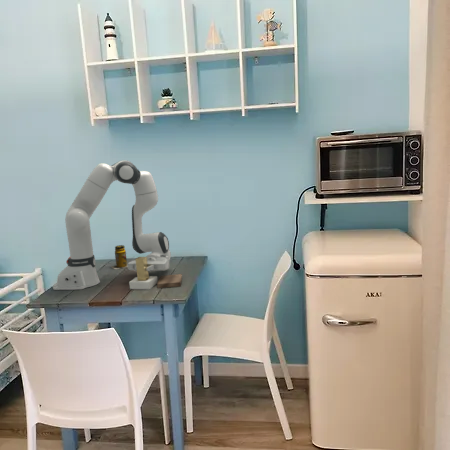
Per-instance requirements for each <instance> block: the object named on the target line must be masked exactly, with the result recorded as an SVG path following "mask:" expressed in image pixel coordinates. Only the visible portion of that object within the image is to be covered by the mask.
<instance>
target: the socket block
mask: <svg viewBox="0 0 450 450" xmlns="http://www.w3.org/2000/svg"><path fill="white" fill-rule="evenodd" d="M157 283H158V276H157V275H149V279H148V280H146V281H138V278H137V276H135V277H134V278H133V279H131V280H130V281H129V282H128V284H129V289H130V290H151V289H153V287H155V286H157Z"/></svg>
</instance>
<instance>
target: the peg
mask: <svg viewBox="0 0 450 450" xmlns="http://www.w3.org/2000/svg"><path fill="white" fill-rule="evenodd" d="M135 260H136V269H137V271H136V277H137V278H138V281H146V280H148V279H149V276H150V275H149V271H145V270H146V269H145V268H146V267H148V264H147V257H146V256H138V257H136V258H135Z"/></svg>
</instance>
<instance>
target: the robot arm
mask: <svg viewBox="0 0 450 450" xmlns="http://www.w3.org/2000/svg"><path fill="white" fill-rule="evenodd" d="M115 181H118V182H120V183H122V184H128V185H129V184H130V185H132V186H133V187H132V188H133V190H134V195H135V202H134V204H133V205H132V208H131V227H132V240H131V242H132V243H131V244H132V245H131V247H132V249H133V250H134V252H136V253H138V254H139V255H140V254H146V253H149V254H148V255H146V256H145V257H147V264H148V267H146V268H145V269H146V270H145V271H148V272H156V271H166V270H168V269H170V260H171V257H172V253H171V250H170V240H169V238H168V236H167V235H166V234H165V233H164V232H162V231H158V232H151V233H144V232H143V222H142V220H143V216H144V215H145V214H146V213H147V212H149V211H150V210H152V209H153V208H155V207H156V206H157V204H158V202H159V195H158V191H157V186H156V182H155V180H154V177H153V175H152V173H151V172H149V171H147V170H139V168H137V166H136V165H134V164H133V162H131V161H129V160H125V159H122V160H119V161H117V162H116V163H114V164H112V165H109V164H108V163H104V162H102V163H101V162H100V163H99V164H97V165H96V166H95V167H94V168H93V169H92V171H91V172H90V174H89V175H88V177H87V179H86V180H85V182H84V183H83V185H82V187H81V188H80V190H79V192H78V193H77V195H76V197H75V199H74V200H73V202H72V203H71V204H70V207H69V208H68V210H67V212H66V215H65V222H64V223H65V228H66V229H65V230H66V235H67V242H68V250H69V257H68V258H67V260H66V264H67V265H66V267H64V268H63V270H61V271H60V272H59V273H58V275H57V278H56V283H54V284H53V286H52V289H53V291H55V290H56V291H58V290H59V291H62V290H65V291H66V290H68V291H69V290H75V291H76V290H84V289H86V288H89V287H94V286H96V285H98V284H99V283H101V281H100V278H99V275H98V272H97V269H96V263H97V262H96V258H95V255H94V248H93V241H92V239H93V238H92V232H91V223H90V219H91V217H92V215H93V214H94V212H95V211H96V209H97V208H98V207H99V205H100V204H101V202H102V201H103V198H104V197H105V195H106V194H107V191H108V190H109V188H110V187H111V185H112V183H113V182H115ZM127 265H128V267H127V269H128V271H135V272H137V269H136V259H134V260H133V259H132V260H131V261H129V262H127Z"/></svg>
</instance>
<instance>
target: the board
mask: <svg viewBox="0 0 450 450" xmlns="http://www.w3.org/2000/svg"><path fill="white" fill-rule="evenodd" d="M157 281H158V283H157V284H156V288H157V289H163V288H174V287H175V288H177V287H181V286H182V282H183V274H182V273H180V274H179V273H178V274H177V273H176V274H166V275H159V277H158V279H157Z"/></svg>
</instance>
